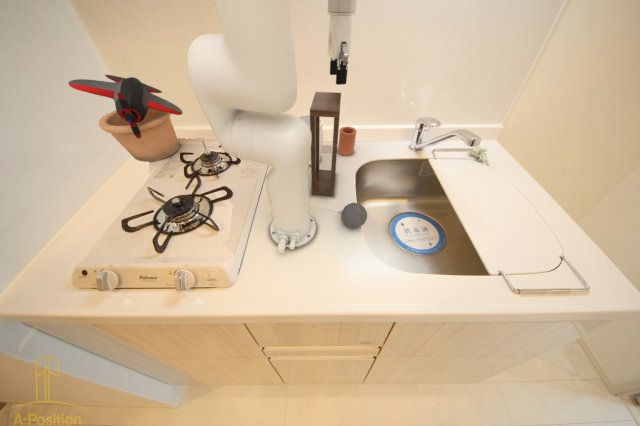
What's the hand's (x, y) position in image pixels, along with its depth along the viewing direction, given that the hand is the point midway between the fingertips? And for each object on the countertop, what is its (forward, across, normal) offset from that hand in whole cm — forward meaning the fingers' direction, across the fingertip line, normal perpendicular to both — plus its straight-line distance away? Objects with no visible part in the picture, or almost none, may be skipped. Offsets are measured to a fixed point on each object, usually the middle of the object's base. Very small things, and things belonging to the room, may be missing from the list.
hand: (337, 79), depth 70 cm
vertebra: (+25, +16, +53) cm, 61 cm away
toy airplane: (-2, -6, -63) cm, 63 cm away
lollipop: (+20, +38, -10) cm, 44 cm away
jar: (+26, +6, -11) cm, 28 cm away
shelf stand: (+26, +21, -8) cm, 34 cm away
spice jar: (+26, +2, +5) cm, 26 cm away
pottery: (+26, -9, -71) cm, 76 cm away
